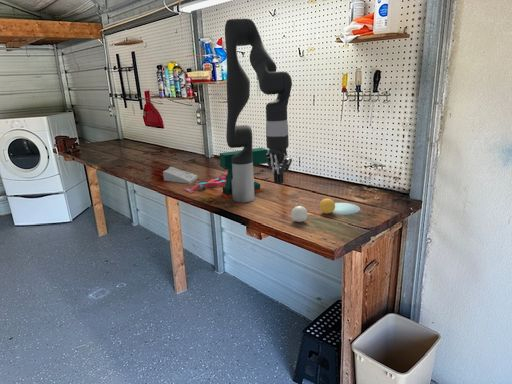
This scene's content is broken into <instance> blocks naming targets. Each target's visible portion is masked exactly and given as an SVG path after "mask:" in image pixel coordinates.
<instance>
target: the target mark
mask: <svg viewBox="0 0 512 384" xmlns="http://www.w3.org/2000/svg"><path fill="white" fill-rule="evenodd" d="M334 203H335V209H334V211H333V212H331V213H330V214H332V215H340V216H348V215H349V216H350V215H354V214H357V213H359V212H360V211H361V208H360V206H358V205H357V204H354V203H349V202H334Z"/></svg>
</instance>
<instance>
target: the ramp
mask: <svg viewBox="0 0 512 384" xmlns="http://www.w3.org/2000/svg"><path fill="white" fill-rule="evenodd" d="M162 175H163V181H164V182H165V181H166V182H174V183H179V184H186V185H188V184H189V185H191V184H192V183H194V182H195V181H196V180H197V179H198V178H199V176H198V174H195V173H192V172H188V171H185V170H181V169H178V168H176V167H173V166H169V167H168V169H165V170H163V171H162Z"/></svg>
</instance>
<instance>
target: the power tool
mask: <svg viewBox="0 0 512 384" xmlns="http://www.w3.org/2000/svg"><path fill="white" fill-rule="evenodd" d="M242 150H243V149H242ZM242 150H233V151H225V152H219V153H218V154H219V165H220V168H222V169H224V170H227V172H228V173H227V179H226V185H225V186H222V187H221V189H222V192H221V195H222V197H224V198H225V199H228V198H233V195H232V179H233V172H232V156H234V155H236V154H238V153H239V152H241V151H242ZM252 153H253V166H258V165H265V164H268V163H267V161H266V158H265V154H268V153H269V149H268V148H264V147H257V148H252ZM261 192H263V189H262V188H261V183H259V182H258V181H255V180H254V194H255V193H261Z"/></svg>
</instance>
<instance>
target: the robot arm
mask: <svg viewBox="0 0 512 384" xmlns="http://www.w3.org/2000/svg"><path fill="white" fill-rule="evenodd" d="M257 27H258V26H257V25H256V23H255V22H254V20H252V19H251V18H231V19H229V18H228V19H227V20H226V22H225V25H224V40H225V41H224V43H225V53H226V102H227V103H226V104H227V105H226V106H227V109H226V110H227V111H226V112H227V114H226V115H227V118H226V143H227V146H228V148H230V149H235V148H236V149H237V148H242V151H241V152H239V153H238V154H236V155H234V156H232V172H233V179H232V195H233V197H232V200H234V202H237V203H249V202H252V201H254V200H255V199H256V198H255V193H254V182H255V180H254V178H255V177H254V165H253V153H252V149H253V131H252V127H251V125H247V124H244V125H237V121H238V118H239V116H240V114H241V112H242V111H243V110H244V108H245V107H246V105H247V103H248V102H249V100H250V94H251V93H250V92H251V91H250V90H251V80H250V78H249V75H248V74H247V71H245V69H244V67H243V65H242V64H241V61H240V60H239V57H238V52H237V51H238V50H237V47H243V46H250V47H251V50H250V53H249V63H250V66H251V67H252V69H253V70H254V71H255V73H256V76H257V80H258V84H259V90H260V92H262V93H263V94H265V95H268V96H269V95H270V96H271V95H277V96H276V99H275V100H273V101H270V102H267V104H266V105H265V117H266V118H265V120H266V122H265V138H266V139H265V140H266V141H265V142H266V149H269V153H268V154H265V158H266V161H267V163H266V164H267V165H268V168H269V171H272V173H273V183H275V184H277V185H282V184H284V173H288V171H289V169H290V166H291V164H292V162H293V159H292V158H289V157H288V152H287V149H288V148H289V146H290V145H289V144H290V143H289V124H288V104H289V100H290V95H291V92H292V91H291V90H292V86H293V81H292V80H293V79H292V76H291V74H290V73H289V72H287V71H284V70H283V71H280V70H279V71H277V65H276V63H275V61H274V59H273V58H272V56H271V55H270V53H269V52H268V51H267V49H266V47H265V44H264V41H263V39H262V37H261V34H260V32H259V30H258V28H257Z"/></svg>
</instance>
